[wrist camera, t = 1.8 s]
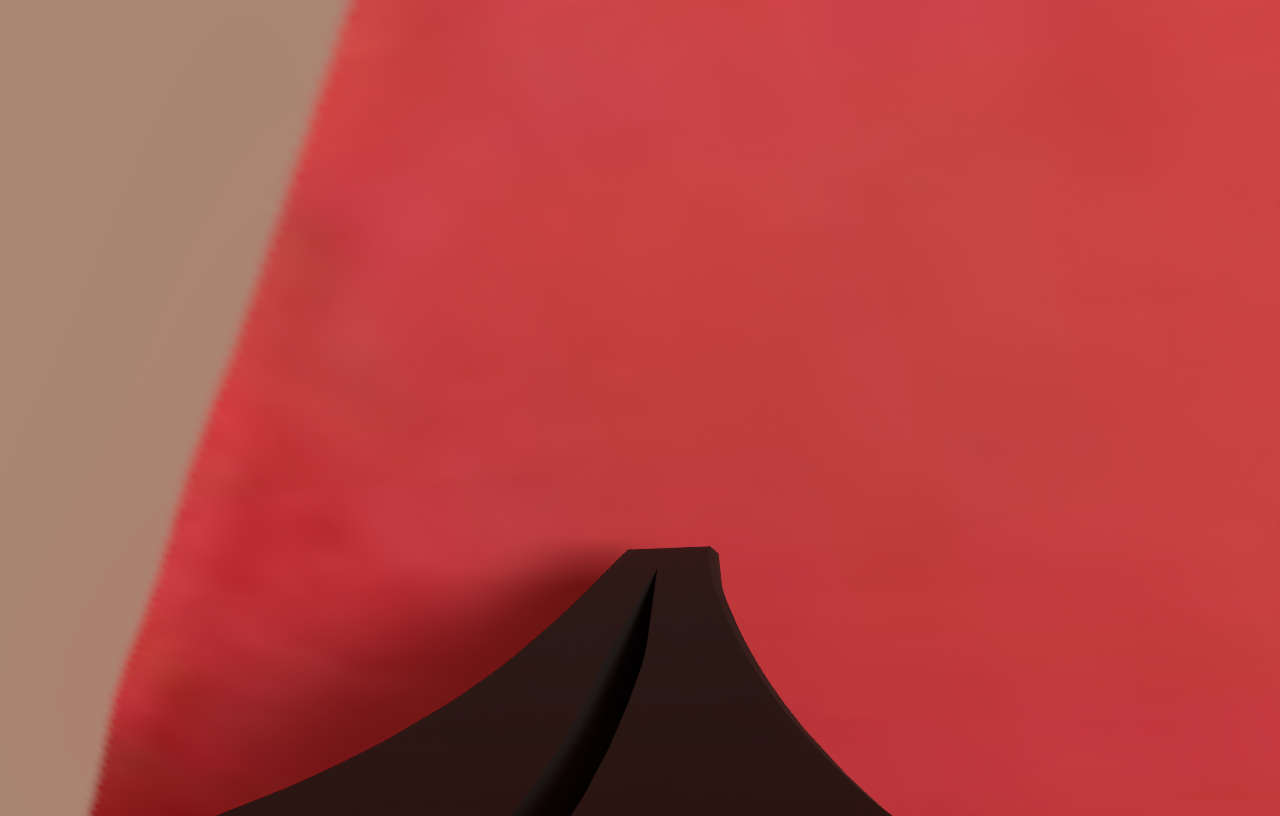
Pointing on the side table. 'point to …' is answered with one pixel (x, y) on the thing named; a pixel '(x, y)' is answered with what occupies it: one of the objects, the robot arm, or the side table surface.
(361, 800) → the robot arm
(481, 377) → the side table surface
